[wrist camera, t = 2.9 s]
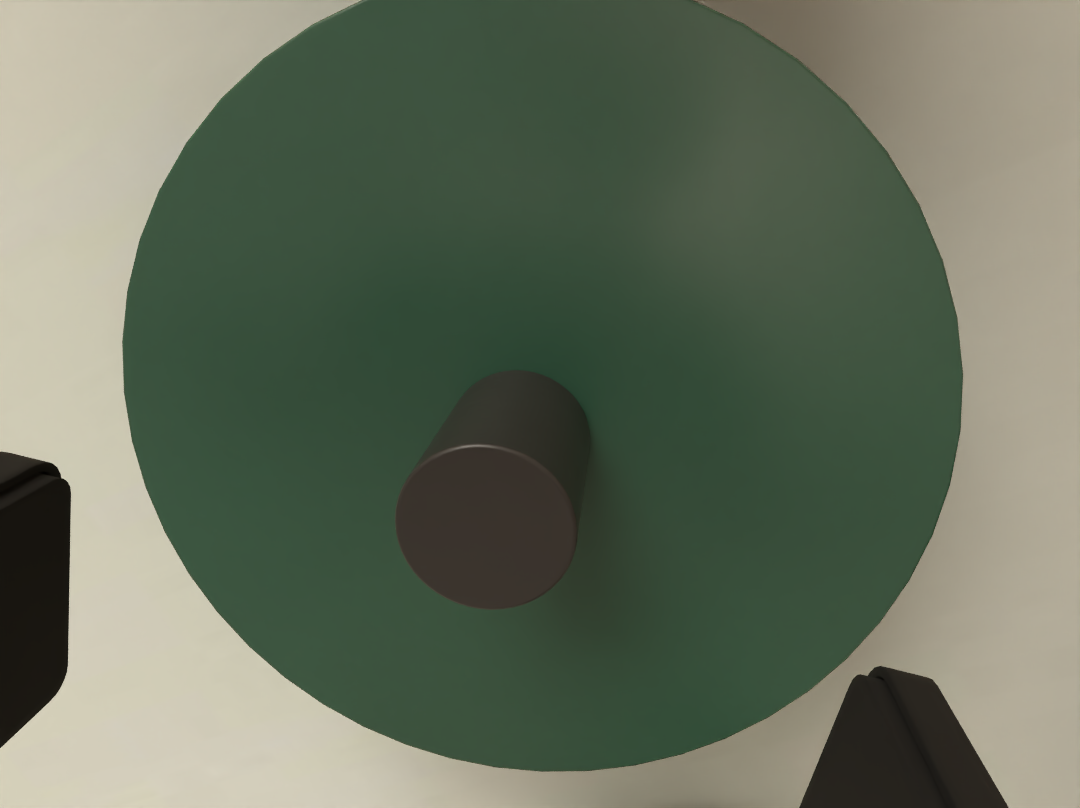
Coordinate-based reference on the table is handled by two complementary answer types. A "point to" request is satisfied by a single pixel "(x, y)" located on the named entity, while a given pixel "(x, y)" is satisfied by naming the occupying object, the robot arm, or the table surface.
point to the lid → (542, 374)
